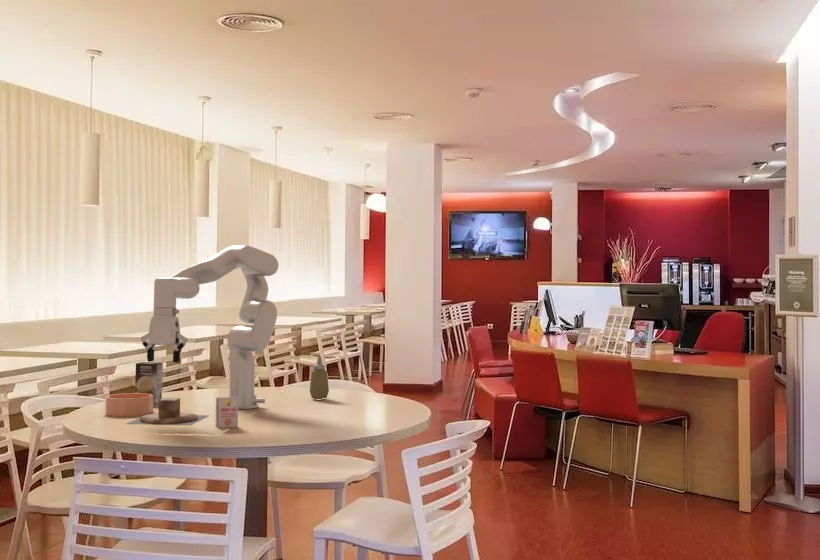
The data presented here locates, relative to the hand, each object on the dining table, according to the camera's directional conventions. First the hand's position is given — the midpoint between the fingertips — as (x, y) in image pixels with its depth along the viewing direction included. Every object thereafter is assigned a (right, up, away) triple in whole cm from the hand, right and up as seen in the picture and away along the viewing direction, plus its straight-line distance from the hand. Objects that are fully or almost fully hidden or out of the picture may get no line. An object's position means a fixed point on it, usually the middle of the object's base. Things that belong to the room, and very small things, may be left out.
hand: (163, 361), depth 270 cm
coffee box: (-18, -21, +39) cm, 48 cm away
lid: (+3, -20, -4) cm, 20 cm away
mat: (+3, -20, -4) cm, 21 cm away
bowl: (-16, -20, +11) cm, 28 cm away
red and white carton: (+26, -20, -16) cm, 36 cm away
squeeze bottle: (+48, -22, +52) cm, 74 cm away
